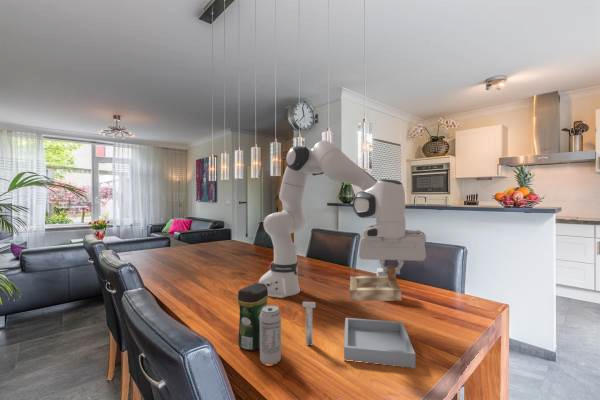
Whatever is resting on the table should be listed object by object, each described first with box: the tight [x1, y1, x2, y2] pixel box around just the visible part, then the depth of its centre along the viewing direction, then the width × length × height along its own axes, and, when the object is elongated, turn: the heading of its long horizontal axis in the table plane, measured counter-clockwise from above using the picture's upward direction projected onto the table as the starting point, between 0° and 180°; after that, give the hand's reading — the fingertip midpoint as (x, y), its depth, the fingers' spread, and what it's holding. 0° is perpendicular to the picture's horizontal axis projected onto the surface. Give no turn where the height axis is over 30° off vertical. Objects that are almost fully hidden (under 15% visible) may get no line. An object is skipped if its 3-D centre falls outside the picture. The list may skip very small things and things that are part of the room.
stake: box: [302, 301, 317, 345], centre depth 86 cm, size 4×2×13 cm, turn 80°
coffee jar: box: [237, 281, 269, 351], centre depth 87 cm, size 10×8×19 cm
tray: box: [343, 317, 416, 369], centre depth 85 cm, size 19×19×4 cm
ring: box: [349, 264, 402, 302], centre depth 85 cm, size 14×14×7 cm
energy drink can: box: [259, 304, 282, 364], centre depth 78 cm, size 6×6×15 cm
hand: (391, 273), depth 87 cm, fingers closed on ring, 2 cm apart
